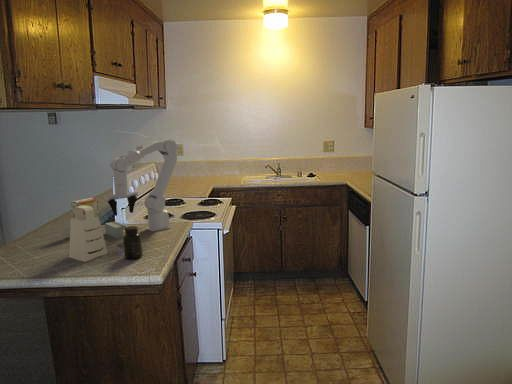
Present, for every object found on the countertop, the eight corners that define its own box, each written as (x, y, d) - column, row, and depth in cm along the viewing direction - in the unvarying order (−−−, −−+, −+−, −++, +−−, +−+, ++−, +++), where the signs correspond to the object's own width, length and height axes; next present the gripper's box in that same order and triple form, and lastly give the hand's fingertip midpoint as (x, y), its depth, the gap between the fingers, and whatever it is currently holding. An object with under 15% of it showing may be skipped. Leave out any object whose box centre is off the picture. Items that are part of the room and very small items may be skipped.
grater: (92, 250, 180) (87, 203, 176) (108, 254, 174) (103, 205, 170) (69, 257, 171) (63, 208, 168) (84, 261, 165) (79, 211, 162)
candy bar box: (81, 237, 199) (77, 202, 196) (74, 236, 201) (70, 201, 198) (100, 231, 208) (97, 198, 205) (93, 230, 211) (90, 197, 208)
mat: (124, 230, 209) (124, 229, 209) (150, 241, 190) (150, 240, 190) (98, 235, 200) (98, 235, 200) (122, 247, 181) (122, 247, 181)
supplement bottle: (121, 257, 169) (118, 227, 167) (137, 253, 174) (134, 224, 172) (130, 261, 164) (127, 230, 162) (146, 256, 169) (143, 227, 167)
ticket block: (116, 231, 205) (115, 221, 205) (127, 236, 197) (126, 225, 196) (105, 233, 202) (104, 223, 201) (116, 238, 193) (115, 227, 192)
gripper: (132, 181, 202) (134, 209, 205) (101, 185, 193) (104, 215, 196) (138, 183, 197) (141, 212, 200) (108, 187, 188) (110, 217, 190)
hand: (123, 213), depth 197 cm, fingers open, 7 cm apart
